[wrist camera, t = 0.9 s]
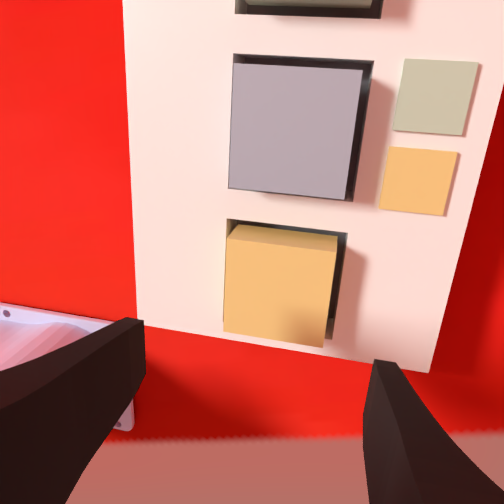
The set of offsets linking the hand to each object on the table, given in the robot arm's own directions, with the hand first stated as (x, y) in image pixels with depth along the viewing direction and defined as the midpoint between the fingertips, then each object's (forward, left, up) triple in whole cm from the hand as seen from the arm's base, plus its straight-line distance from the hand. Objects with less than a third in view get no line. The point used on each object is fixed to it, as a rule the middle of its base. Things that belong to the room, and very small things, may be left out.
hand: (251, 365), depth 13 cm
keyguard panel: (0, +7, -9) cm, 11 cm away
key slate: (0, +7, -7) cm, 10 cm away
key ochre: (0, 0, -7) cm, 7 cm away
